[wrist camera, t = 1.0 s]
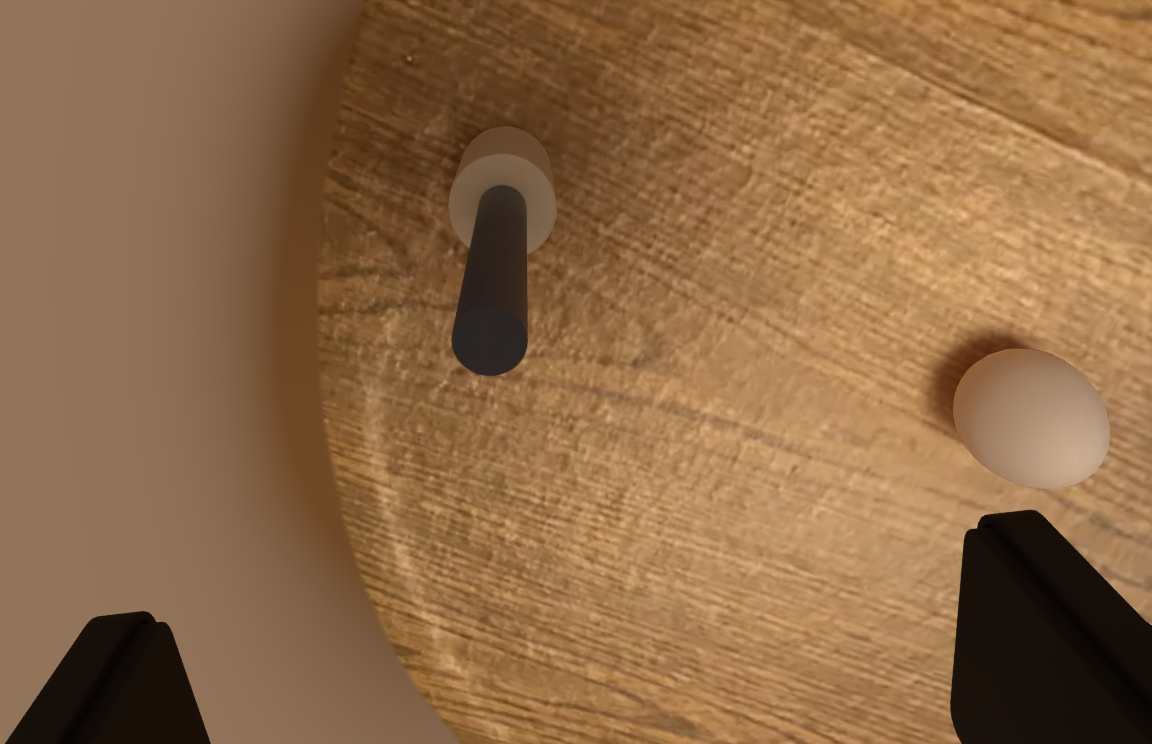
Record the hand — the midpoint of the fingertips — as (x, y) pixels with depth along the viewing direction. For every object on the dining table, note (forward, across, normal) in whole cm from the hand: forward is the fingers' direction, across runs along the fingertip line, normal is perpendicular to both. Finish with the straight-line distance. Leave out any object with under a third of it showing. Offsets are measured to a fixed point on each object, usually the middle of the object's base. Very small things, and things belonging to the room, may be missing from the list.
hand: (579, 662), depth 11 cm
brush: (+27, +1, -1) cm, 27 cm away
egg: (+28, -19, +11) cm, 35 cm away
